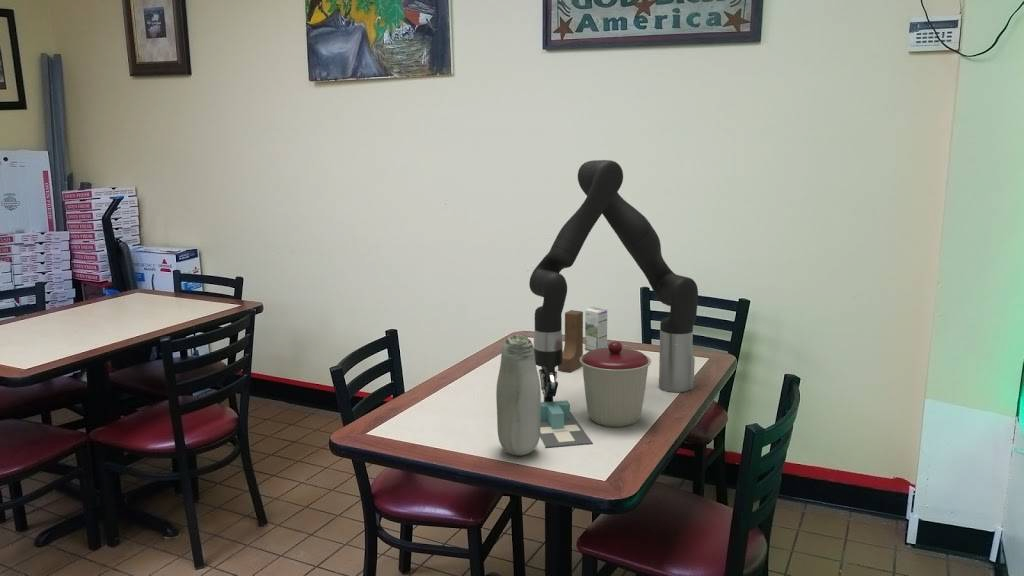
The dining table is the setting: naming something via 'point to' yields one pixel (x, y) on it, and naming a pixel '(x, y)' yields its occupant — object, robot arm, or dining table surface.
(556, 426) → the t block
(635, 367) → the canister
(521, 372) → the glass bottle
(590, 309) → the syrup box
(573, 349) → the wooden block
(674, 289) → the robot arm
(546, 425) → the mat
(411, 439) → the dining table surface
